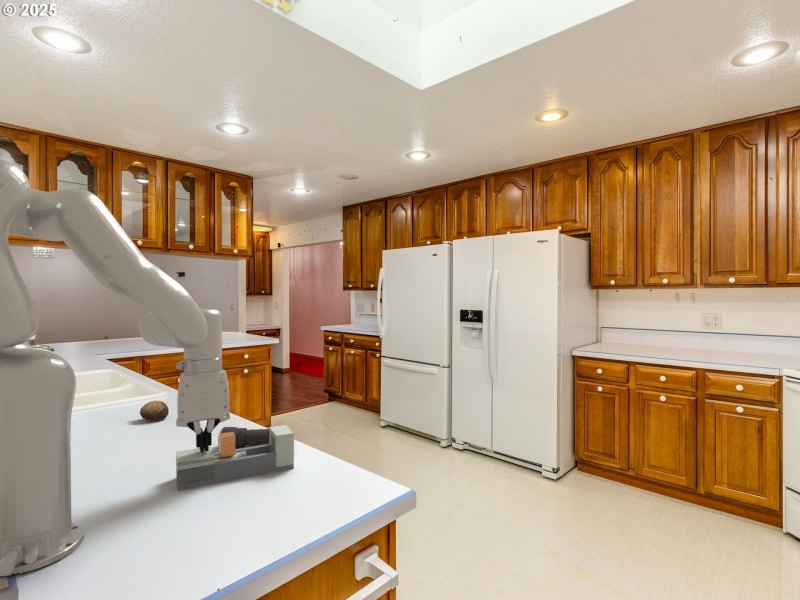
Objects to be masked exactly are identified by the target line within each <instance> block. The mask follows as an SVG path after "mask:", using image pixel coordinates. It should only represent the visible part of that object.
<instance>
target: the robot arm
mask: <svg viewBox="0 0 800 600" xmlns="http://www.w3.org/2000/svg"><path fill="white" fill-rule="evenodd" d="M9 234H11V235H15V236H20V237H25V238H29V239H34V240H35V239H37V240H41V241H49V242H64V244H65V245H66V246H67V247H68V248H69V249H70V251H72V253H73V254H74V255H75V256H76V257H77V258H78V259H79V260H80V262H81V263H82V264H83V266H85V267H86V269H87V270H88V271H89V272H90V273H91V275H92V276H93V277H94V278H95V279H96V280H97V282H98V283H99V284H100V285H101V286H103V287H105V288H107V289H108V290H110V291H111V292H114V293H115V294H118V295H120V296H122V297H125V298H127V299H130V300H132V301H134V302H136V303H138V304H139V305H141V306H142V307H144V308H145V309H146V310H147V311H149V312H147V313H146V314H145V315H144V316H143V317H142V318H141V319H140V321H139V323H138V333H139V335H140V337H141V338H142V340H144V341H145V342H147V343H148V344H150V345H153V346H156V347H165V348H176V349H183V360H182V361H180V362H178V361H177V362H176V363H175V364H176V365H175V368H176V370H178V369H180V370H182V371H183V372H182V373H180V374H179V379H178V387H177V388H178V389H177V401H176V402H177V403H176V406H177V407H176V410H177V411H176V412H177V417H176V421H175V425H176V427H178V428H179V427H180V428H188V429H190V430H191V431H193V432H194V433H195V446H196V448H195V449H197V448H199V449H200V452H203V451H204V450H205V451H209V447H210V446H211V447H212V445H213V444H212V443H213V442H212V432H213V431H214V430H215V428H217V426H218V425H219V424H220V423H223V422H226V421H229V420H230V419H231V416H230V411H231V410H230V409H231V408H230V406H231V405H230V404H231V403H230V389H229V380H228V376H227V371H226V370H225V369H223V347H222V346H223V345H222V343H223V342H222V341H223V338H222V337H223V333H222V331H223V330H222V329H223V328H222V325H223V324H222V322H223V321H222V320H223V318H222V312H221V311H220V310H218V309H215V308H200V306H199V305H198V304H197V303H196V301H195V300H194V299H193V297H192V296H191V295H190V294H189V292H188V291H187V290H186V289H185V288H184V287H183V286H182V285H180V284H179V283H178V282H177V281H176V280H175V279H173V278H172V277H171V276H170V275H168V274H167V273H165V272H164V271H163V270H161V268H159V267H158V266H156V265H155V264H153V263H152V262H150V261H149V260H148V259H147V258H146V257H145V256H144V254H143V253H142V252H141V251H140V249H139V248H138V247H137V245H136V244H135V243H134V242H133V240H132V239H131V238H130V236H129V235H128V233H126V231H125V229H124V228H123V227H122V226H121V224H120V223H119V222H118V220H117V219H116V218H115V216H114V215H113V214H112V212H111V210H109V208H108V207H107V206H106V205H105V204H104V202H103V201H102V200H101V199H100V198H99V197H98V196H97V195H96V194H94V193H93V192H91V191H90V190H86V189H82V188H65V189H58V190H54V191H44V190H39V189H35V188H33V187H32V188H31V184H30V181H29V178H28V176H27V175H26V173H25V172H24V171H23V170H22V169H21V168H20V167H19V166H17V165H16V164H15V163H13V162H11V161H9V160H6V159H3V158H0V577H8V576H9V577H10V576H13V575H12V574H15V575H17V574H16V573H21V572H25V573H28V572H31V571H35V570H37V569H40V568H44V567H46V566H48V565H51V564H53V563H55V562H58V561H59V560H61V559H63V558H64V557H66V556H68V555H69V554H71V553H72V552H73V551H75V550H76V549H77V548H78V547H79V546H80V545H81V543H82V542H83V540H84V530H83V527H81V526H80V525H78V524H75V523H72V457H71V456H72V453H71V452H72V448H71V447H72V446H71V442H72V441H71V438H72V437H71V434H72V433H71V432H72V431H71V425H72V414H73V407H74V403H75V401H74V400H75V396H76V389H77V376H76V374H75V371H74V368H73V367H72V366H71V364H70V363H69V362H68V361H67V360H66V359H65V358H63V356H60V355H58V354H56V353H55V352H54V353H53V352H51V351H47V350H42V349H35V348H31V347H32V346H31V345H30V343H29V340H30V339H32V337H34V335H36V333H37V331H38V329H39V326H40V315H39V311H38V308H37V305H36V304H35V302H34V300H33V297H32V296H31V294H30V291H29V289H28V287H27V286H26V283H25V281H24V278H23V277H22V275H21V273H20V271H19V268H18V266H17V264H16V261H15V259H14V256H13V253H12V251H11V248H10V243H9ZM201 421H202V422H203V421H206V425H205V427H204V430H203V427H201ZM27 571H28V572H27ZM21 574H22V573H21Z"/></svg>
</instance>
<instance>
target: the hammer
mask: <svg viewBox="0 0 800 600" xmlns="http://www.w3.org/2000/svg"><path fill="white" fill-rule="evenodd" d="M218 436H219V446H218V452H219V454H220V455H217V456H214V462H216V461H222V460H228V459H234V458H239V457H245V456H247V453H246V451H241V452H235V449H236V448H235V434H234V432H227V433H220V434H219V433H218Z"/></svg>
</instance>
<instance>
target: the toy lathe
mask: <svg viewBox="0 0 800 600" xmlns="http://www.w3.org/2000/svg"><path fill="white" fill-rule="evenodd" d="M268 429H269V444H265V445H259V446H246V447H244V448H235V452H241V451H246V453H247V456H245V457H239V458H234V459H228V460H222V461H216V462H214V456H217V455H220V454H219V451H217V452H213V448H212V445H211V446H209V451H205V450H204V451H203V452H200V449H199V448H191V449H185V450H179V451H176V452H175V459H176V460H175V461H176V462H175V464H176V468H175V478H176V487H177V488H176V489H177V492H179V491H184V490H189V489H193V488H199V487H204V486H209V485H215V484H219V483H220V484H221V483H224V482H230V481H234V480H235V481H236V480H241V479H245V478H250V477H256V476H261V475H266V474H271V473H276V472H281V471H287V470H292V469H294V468H295V467H294V466H295V465H294V463H295V456H294V455H295V439H294V438H295V437H294V436H295V432H294V431H292V430H291V429H290V427H289V426H288V425H287V424H284V425H283V424H282V425H276V426H269V428H268Z"/></svg>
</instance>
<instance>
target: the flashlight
mask: <svg viewBox="0 0 800 600" xmlns="http://www.w3.org/2000/svg"><path fill="white" fill-rule="evenodd" d="M227 432H234V434H235V449H241V448H246V447H253V446H259V445H265V444H269V428H258V429H254V428H253V429H248V428H247V427H236V426H222V427H221V428H220V430H219V433H218V437H217V443H218V444H217V445H218V447H219V434H220V433H227Z"/></svg>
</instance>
